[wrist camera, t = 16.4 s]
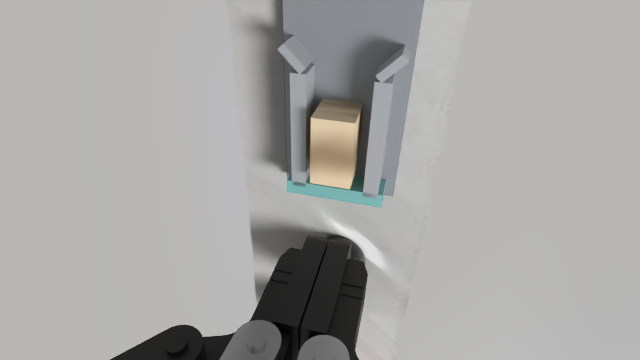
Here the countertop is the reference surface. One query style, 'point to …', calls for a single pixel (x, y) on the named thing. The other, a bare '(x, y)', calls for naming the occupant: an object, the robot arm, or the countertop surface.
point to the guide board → (349, 85)
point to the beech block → (335, 143)
